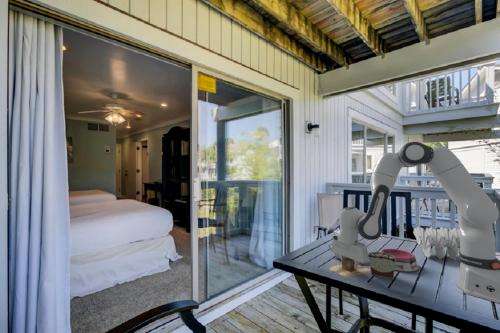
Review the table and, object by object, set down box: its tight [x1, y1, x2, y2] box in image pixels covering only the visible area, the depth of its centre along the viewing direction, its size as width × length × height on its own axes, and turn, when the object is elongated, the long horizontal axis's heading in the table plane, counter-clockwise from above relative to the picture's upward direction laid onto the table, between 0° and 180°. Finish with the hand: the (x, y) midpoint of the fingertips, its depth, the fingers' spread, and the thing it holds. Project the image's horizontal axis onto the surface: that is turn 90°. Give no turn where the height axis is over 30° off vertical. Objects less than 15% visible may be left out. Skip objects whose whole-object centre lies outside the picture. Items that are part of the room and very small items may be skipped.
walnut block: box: [341, 257, 357, 272], centre depth 126 cm, size 5×5×5 cm
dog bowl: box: [380, 248, 419, 273], centre depth 130 cm, size 18×19×7 cm
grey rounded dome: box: [358, 257, 370, 266], centre depth 135 cm, size 9×9×1 cm
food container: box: [368, 251, 397, 280], centre depth 119 cm, size 12×6×10 cm, turn 58°
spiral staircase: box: [413, 225, 460, 260], centre depth 139 cm, size 18×18×25 cm
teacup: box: [328, 242, 347, 260], centre depth 142 cm, size 14×11×8 cm
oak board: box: [326, 263, 371, 279], centre depth 126 cm, size 14×18×1 cm
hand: (349, 265), depth 126 cm, fingers open, 6 cm apart
